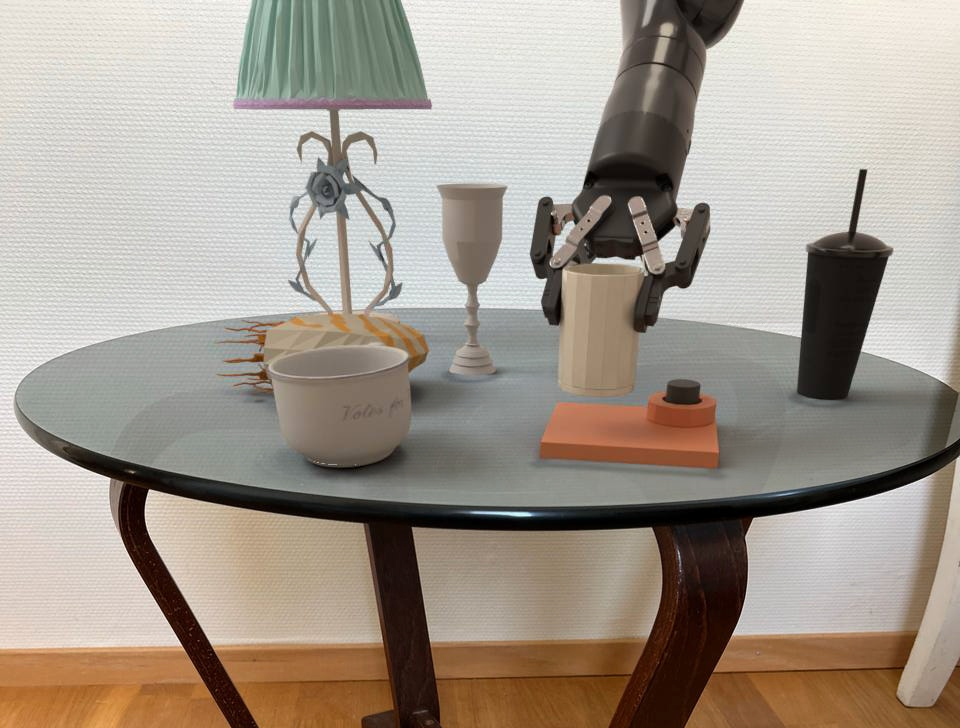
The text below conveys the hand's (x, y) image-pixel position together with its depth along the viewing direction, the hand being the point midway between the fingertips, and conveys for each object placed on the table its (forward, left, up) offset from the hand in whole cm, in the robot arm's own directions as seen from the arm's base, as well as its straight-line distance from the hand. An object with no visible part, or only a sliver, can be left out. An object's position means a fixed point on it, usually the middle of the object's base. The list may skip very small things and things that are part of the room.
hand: (595, 322), depth 72 cm
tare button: (-7, -7, -8) cm, 12 cm away
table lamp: (+33, -39, -10) cm, 52 cm away
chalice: (+15, -26, -10) cm, 31 cm away
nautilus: (+28, -14, -10) cm, 33 cm away
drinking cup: (-21, -23, -10) cm, 33 cm away
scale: (-3, -4, -10) cm, 11 cm away
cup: (0, -2, -5) cm, 6 cm away
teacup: (+19, +3, -10) cm, 22 cm away
